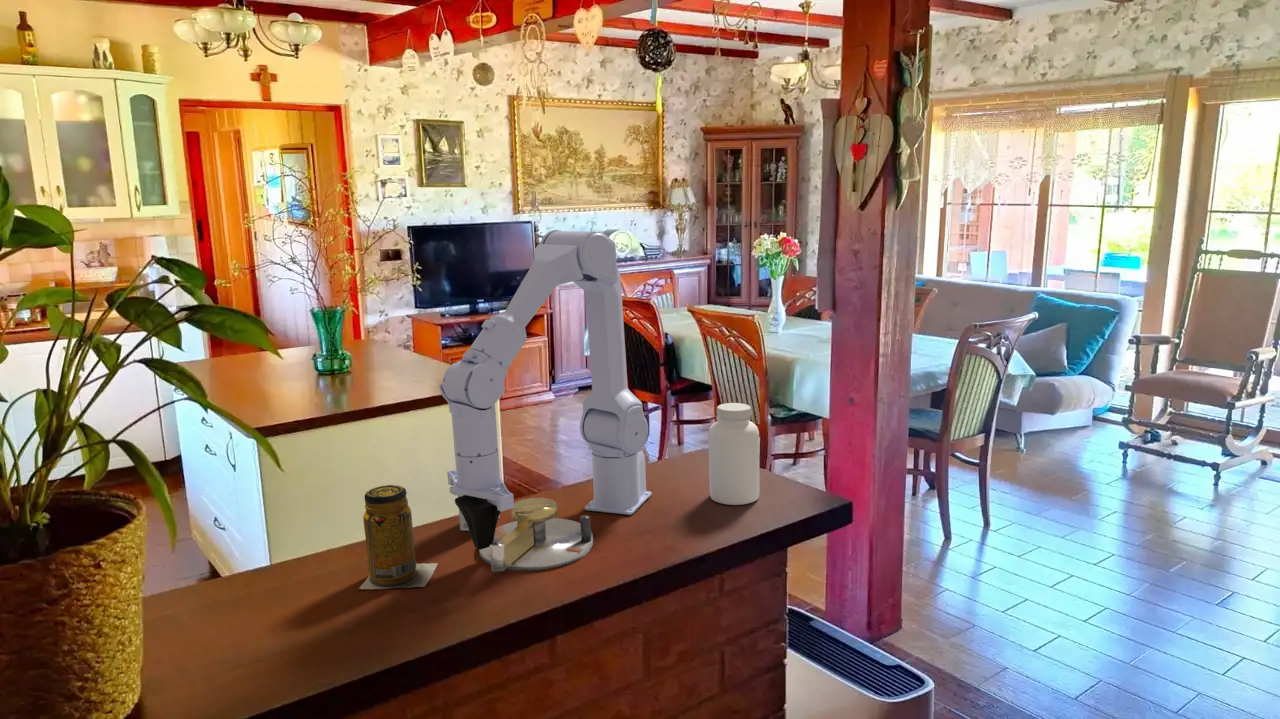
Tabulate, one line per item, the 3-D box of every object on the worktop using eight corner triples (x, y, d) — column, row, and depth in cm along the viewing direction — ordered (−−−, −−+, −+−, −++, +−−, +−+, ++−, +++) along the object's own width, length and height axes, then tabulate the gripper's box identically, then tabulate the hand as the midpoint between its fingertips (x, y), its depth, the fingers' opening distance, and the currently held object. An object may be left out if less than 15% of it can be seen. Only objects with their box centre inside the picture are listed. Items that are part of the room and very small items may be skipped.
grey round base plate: (513, 519, 133) (512, 491, 132) (610, 530, 128) (609, 501, 127) (457, 562, 119) (454, 531, 118) (563, 577, 113) (561, 544, 112)
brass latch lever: (526, 526, 127) (524, 495, 126) (566, 531, 125) (564, 500, 124) (473, 568, 114) (470, 534, 113) (517, 574, 111) (514, 540, 110)
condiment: (376, 566, 119) (367, 482, 116) (438, 564, 119) (431, 480, 116) (358, 591, 112) (349, 502, 109) (424, 589, 111) (416, 500, 109)
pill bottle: (761, 490, 142) (761, 400, 139) (756, 507, 135) (756, 414, 132) (713, 487, 144) (711, 399, 141) (706, 505, 136) (704, 412, 133)
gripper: (424, 445, 119) (432, 538, 122) (476, 470, 108) (484, 572, 111) (470, 435, 123) (477, 525, 126) (525, 457, 112) (531, 556, 115)
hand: (483, 546), depth 119 cm, fingers closed
